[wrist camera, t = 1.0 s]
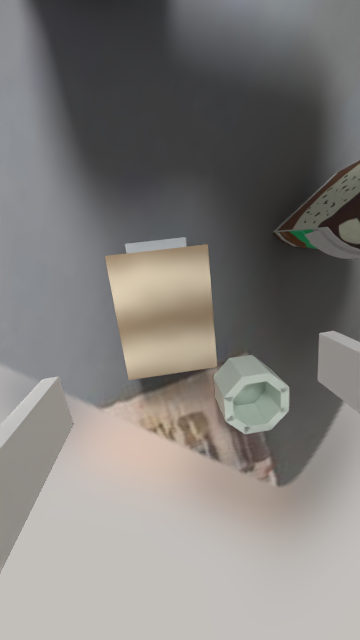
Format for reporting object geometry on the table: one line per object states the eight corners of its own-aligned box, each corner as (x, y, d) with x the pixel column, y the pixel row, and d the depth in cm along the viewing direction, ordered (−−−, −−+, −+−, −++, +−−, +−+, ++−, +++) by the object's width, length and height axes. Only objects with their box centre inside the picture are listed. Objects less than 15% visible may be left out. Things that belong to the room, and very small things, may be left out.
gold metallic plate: (111, 256, 23) (104, 256, 20) (201, 245, 23) (207, 244, 21) (131, 366, 26) (128, 380, 23) (210, 355, 27) (217, 366, 24)
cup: (211, 360, 30) (222, 379, 25) (268, 352, 31) (289, 369, 26) (216, 410, 32) (226, 437, 27) (269, 402, 33) (288, 426, 28)
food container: (292, 280, 28) (361, 291, 19) (262, 241, 27) (321, 232, 17) (374, 206, 27) (494, 177, 17) (347, 160, 26) (463, 102, 16)
